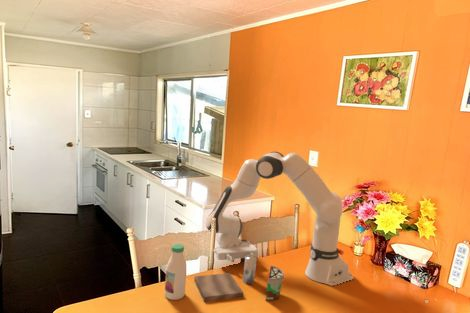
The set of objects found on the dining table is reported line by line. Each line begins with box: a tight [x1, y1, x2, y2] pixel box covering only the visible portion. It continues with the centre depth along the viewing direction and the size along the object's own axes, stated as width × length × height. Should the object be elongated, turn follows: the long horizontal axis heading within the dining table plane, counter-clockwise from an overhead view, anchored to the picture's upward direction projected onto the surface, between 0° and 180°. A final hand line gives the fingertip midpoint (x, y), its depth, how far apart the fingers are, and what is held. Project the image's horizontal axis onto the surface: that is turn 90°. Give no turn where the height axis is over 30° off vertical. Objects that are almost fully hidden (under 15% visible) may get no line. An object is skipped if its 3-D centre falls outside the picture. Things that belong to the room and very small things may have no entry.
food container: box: [265, 265, 285, 302], centre depth 135 cm, size 12×6×10 cm, turn 168°
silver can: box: [242, 255, 258, 285], centre depth 144 cm, size 5×5×11 cm
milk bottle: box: [164, 243, 187, 301], centre depth 128 cm, size 8×8×20 cm
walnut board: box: [193, 272, 244, 303], centre depth 137 cm, size 16×16×2 cm
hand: (242, 259), depth 152 cm, fingers open, 8 cm apart
